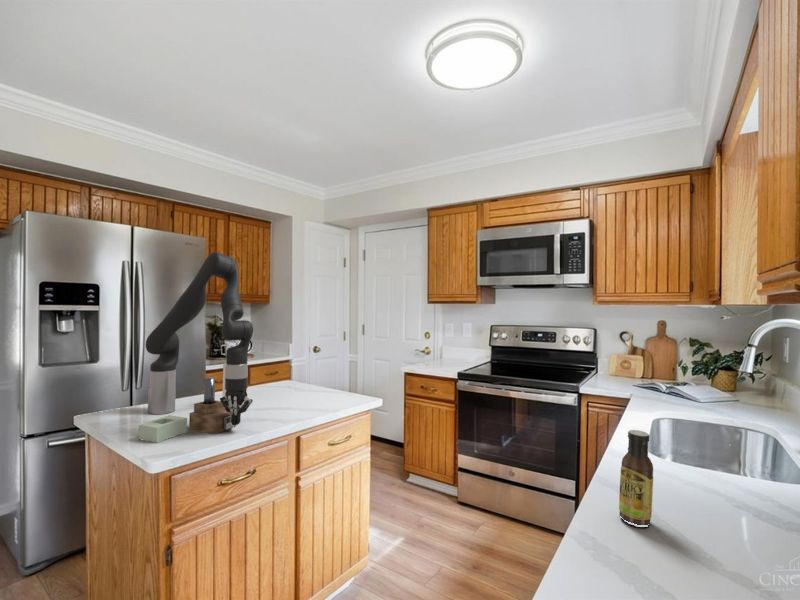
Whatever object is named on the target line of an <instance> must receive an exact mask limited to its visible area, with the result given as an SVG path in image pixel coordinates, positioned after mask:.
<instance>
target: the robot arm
mask: <svg viewBox="0 0 800 600" xmlns="http://www.w3.org/2000/svg"><path fill="white" fill-rule="evenodd" d="M211 277H217V278H220V279H223V280H224V282H225V285H226V287H225V288H224V290H223V292H222V294H221V296H220V306H221V307H220V308H221V311H222V324H221V325H222V326H221V331H220V332H221V336H222V338H223V339H224V340H225V341H239V343H238V344H237V345H235V346H231V347H228V348H227V349H226V355H225V356H226V359H225V363H226V370H225V390H226V393H225V396H224V397H223V396H222V397H220V398H219V401H221V403H222V404H223V406H224V408H225V410H226V411H227V412H230V414H231V422H232V425H236V426H238V425H239V424H240V423H241V415H242V414H244V413H246V412H247V410H248V409H249V407H250V406H251V405H252V403H253V402H254V401H253V399H251V398H249V397H248V393H247V390H248V386H249V384H248V382H249V379H248V378H249V375H248V374H249V367H248V366H249V365H248V351H249V348H250V343H251V339H252V338H253V334H254V326H253V323H252V322H251V321H250V320H245V319H244V320H240V319H242V318H243V316H244V307H243V305H242V300H241V295H240V286H239V285H240V280H239V279H240V277H239V266H238V263H237V260H236V259H235V258H233V257H231V256H228V255H227V254H224V253H222V252H219V251H213V252H211V253H210V254H208V256H207V257H206V258H205V260H204V261H203V263H202V264H201V267H200V268H199V269H198V272H196V275H195V276H194V278H193V280H192V281H191V283H190V284H189V285H188V286H187V288H186V290H185V291H184V292H183V293H182V294H180V297H179V298H178V300H177V301H176V302H175V304H174V305H173V306H172V308H171V310H170V311H169V312H168V313H167V314H166V316H165V317H164V318H163V320H162V321H161V322H160V323H159V324H158V325H157V326H156V327H155V328H153V329H154V330H152V331H151V333H149V335H148V336H147V338H146V341H145V350H146V351H147V353H149V354H152V355H159V356H158V358H157V359H156V360H155V361H153V362H151V364H150V367H149V370H150V373H149V388H148V389H147V412H148V413H149V414H151V415H162V414H163V415H165V414H170V413H172V412H175V411H176V385H177V384H176V382H177V380H176V379H177V377H176V376H177V365H178V362H179V355H180V338H179V335H178V334H177V333H176V332H177V331H179V330H180V329H181V328H183V327H184V326H187V324H188V323H190V322H191V321H193V320H195V318H196V317H198V315H199V313H201V311H202V309H203V308H204V307H205V305H206V302H207V293H206V292H207V284H208V283H209V280H210V279H211Z"/></svg>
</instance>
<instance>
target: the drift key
mask: <svg viewBox="0 0 800 600" xmlns="http://www.w3.org/2000/svg"><path fill="white" fill-rule="evenodd" d="M234 426H235V425H232V422H231V415H230V416H225V417H223V427H224V429H227V430H230V429H232V428H235V427H236V426H235V427H234ZM231 427H232V428H231ZM229 428H230V429H229Z"/></svg>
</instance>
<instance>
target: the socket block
mask: <svg viewBox="0 0 800 600" xmlns="http://www.w3.org/2000/svg"><path fill="white" fill-rule="evenodd" d="M230 415H231V414H230V412H227V411H226V410H225V408H224V406H223V404H222V403H221V401H220V400H215V403H214V404H210V405H208V404H204V400H203V401H200V402H196V403H194V404H193V411H192V412H189V420H188V422H189V427H188V429H189V431H195V432H201V433H206V434H212V435H213V434H215V435H217V434H219V433H222V432H225V431H227V430H230V429H232V428H233V427H231V428H229V429H224V427H223V417H225V416H230ZM235 427H237V425H235Z"/></svg>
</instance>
